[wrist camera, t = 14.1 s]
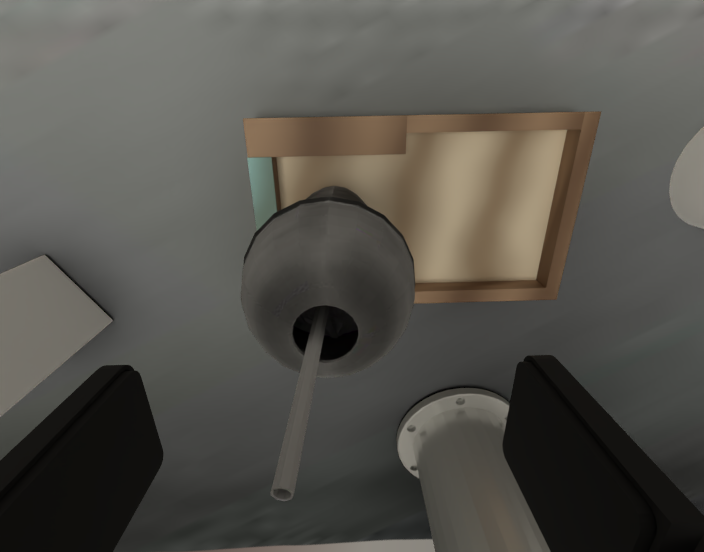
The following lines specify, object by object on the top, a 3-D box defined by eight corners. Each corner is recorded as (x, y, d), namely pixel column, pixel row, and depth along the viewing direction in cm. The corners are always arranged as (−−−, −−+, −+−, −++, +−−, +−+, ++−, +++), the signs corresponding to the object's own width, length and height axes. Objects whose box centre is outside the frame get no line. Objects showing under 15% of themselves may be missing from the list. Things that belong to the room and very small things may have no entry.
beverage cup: (405, 207, 25) (578, 431, 7) (345, 281, 27) (350, 602, 9) (323, 142, 23) (250, 204, 5) (265, 227, 25) (62, 492, 7)
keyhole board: (572, 113, 24) (603, 111, 21) (536, 283, 29) (557, 300, 27) (254, 119, 24) (242, 118, 21) (274, 290, 29) (266, 308, 26)
